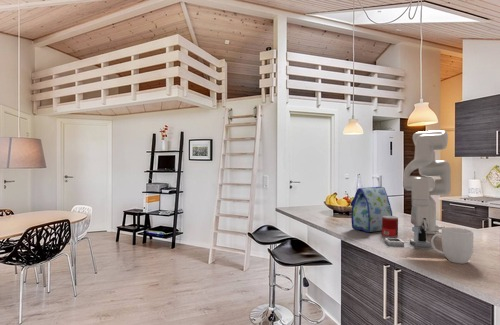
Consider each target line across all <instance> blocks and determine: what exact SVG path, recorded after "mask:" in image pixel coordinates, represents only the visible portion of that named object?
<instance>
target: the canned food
mask: <svg viewBox="0 0 500 325" xmlns="http://www.w3.org/2000/svg"><path fill="white" fill-rule="evenodd" d="M381 233H382V235H383V236H387V237H398V236H399V218H398V216H395V215H392V216H382V230H381Z"/></svg>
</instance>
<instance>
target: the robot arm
mask: <svg viewBox="0 0 500 325" xmlns="http://www.w3.org/2000/svg"><path fill="white" fill-rule="evenodd" d="M412 142H413V144H414V156H413V159H412V160H411V161H410V162H409V163H408V164H407V165H406V167H405V168H404V170H403V177H402V179H403V180H402V186H403V188H404V190H405V191H411V212H410V224H412V225H413V227H414V226H417V227H419V233H418V241H422V242H426V240H427V235H435V234H438V233H440V231H439V230H441V231H442V228H444V227H446V226H443V225H438V224H437V202H436V200H435V199H434V198H433V197H432V196H440V197H442V196H449V195H450V194H451V187H452V186H451V185H452V184H451V183H452V182H451V180H452V179H451V175H452V174H451V172H452V171H451V165H450V162H449V161H447V160H437V159H436V152H435V151H440V150H442V151H443V150H445V149H446V148H447V146H448V142H449V134H448V132H447V130H428V131H427V130H425V131H424V130H423V131H417V132H415V133H413V135H412ZM417 169H418V173H419V175H411V173H412V172H414V171H415V170H417ZM433 177H435V178H433ZM439 178H440V179H439ZM421 226H423V227H421ZM421 228H422V229H421Z"/></svg>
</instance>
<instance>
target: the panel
mask: <svg viewBox="0 0 500 325" xmlns="http://www.w3.org/2000/svg"><path fill="white" fill-rule="evenodd" d="M379 241H380V242H381V243H382V244H383V245H384V246H385V247H386V248H388V249H390V248H393V249H413V250H432V251H433V250H434V249H433V247H432V244H431V241H428V240H427V239H426V243H425V242H415V241H414V238H409V240H403V239H401V238H397V237H395V238H393V237H384V239H379ZM434 251H435V250H434Z"/></svg>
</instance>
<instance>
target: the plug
mask: <svg viewBox="0 0 500 325" xmlns="http://www.w3.org/2000/svg"><path fill="white" fill-rule="evenodd" d="M421 227H423V226H421ZM421 229H422V228H421ZM411 230H412V232H413V239H414V241H415V242H422V241H418V233H419V227H417V226H414V225H413V226H412V227H411ZM425 243H426V242H425Z"/></svg>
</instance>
